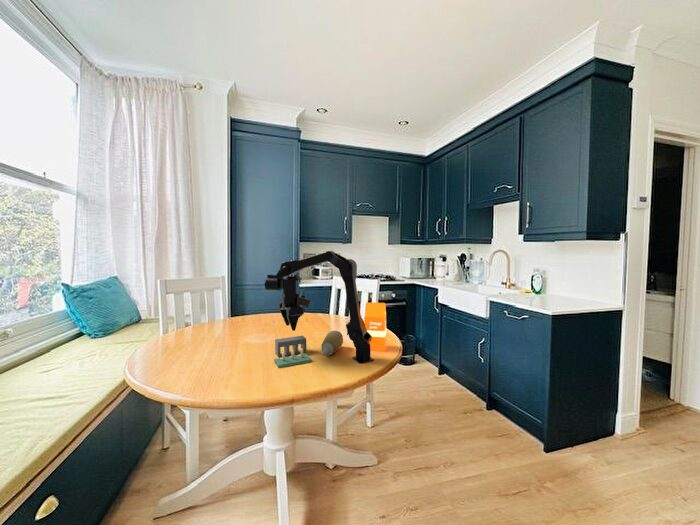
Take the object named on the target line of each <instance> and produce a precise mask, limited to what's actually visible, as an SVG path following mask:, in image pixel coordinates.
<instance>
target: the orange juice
mask: <svg viewBox="0 0 700 525" xmlns="http://www.w3.org/2000/svg"><path fill="white" fill-rule="evenodd" d="M386 308H387V307H386V303H385V302H365V308H364V309H365V310H364V319H363V321H364V323H365V326H366V330H367V332H368V333H369V334H370V335H371V336H372V339H371V341H370V351H377V352H378V351H379V352H385V351H386V347H387V310H386Z"/></svg>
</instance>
